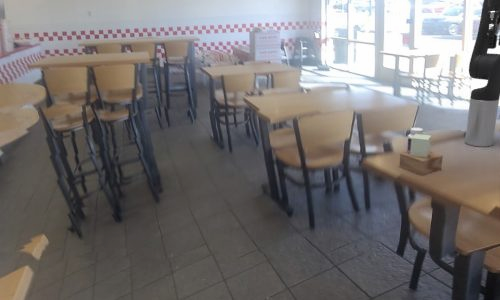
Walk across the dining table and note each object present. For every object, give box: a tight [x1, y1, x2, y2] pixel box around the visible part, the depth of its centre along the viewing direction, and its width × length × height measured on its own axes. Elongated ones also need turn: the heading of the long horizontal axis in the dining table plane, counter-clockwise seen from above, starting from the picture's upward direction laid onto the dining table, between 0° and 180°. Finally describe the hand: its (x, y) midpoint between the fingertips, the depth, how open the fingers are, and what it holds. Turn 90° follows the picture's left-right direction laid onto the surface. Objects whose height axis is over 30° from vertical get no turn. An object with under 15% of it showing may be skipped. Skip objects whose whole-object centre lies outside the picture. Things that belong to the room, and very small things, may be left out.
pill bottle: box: [406, 127, 424, 152], centre depth 144 cm, size 5×5×10 cm
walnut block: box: [399, 151, 443, 176], centre depth 133 cm, size 9×9×5 cm
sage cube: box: [410, 134, 432, 158], centre depth 132 cm, size 5×5×6 cm
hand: (496, 47), depth 120 cm, fingers open, 8 cm apart
